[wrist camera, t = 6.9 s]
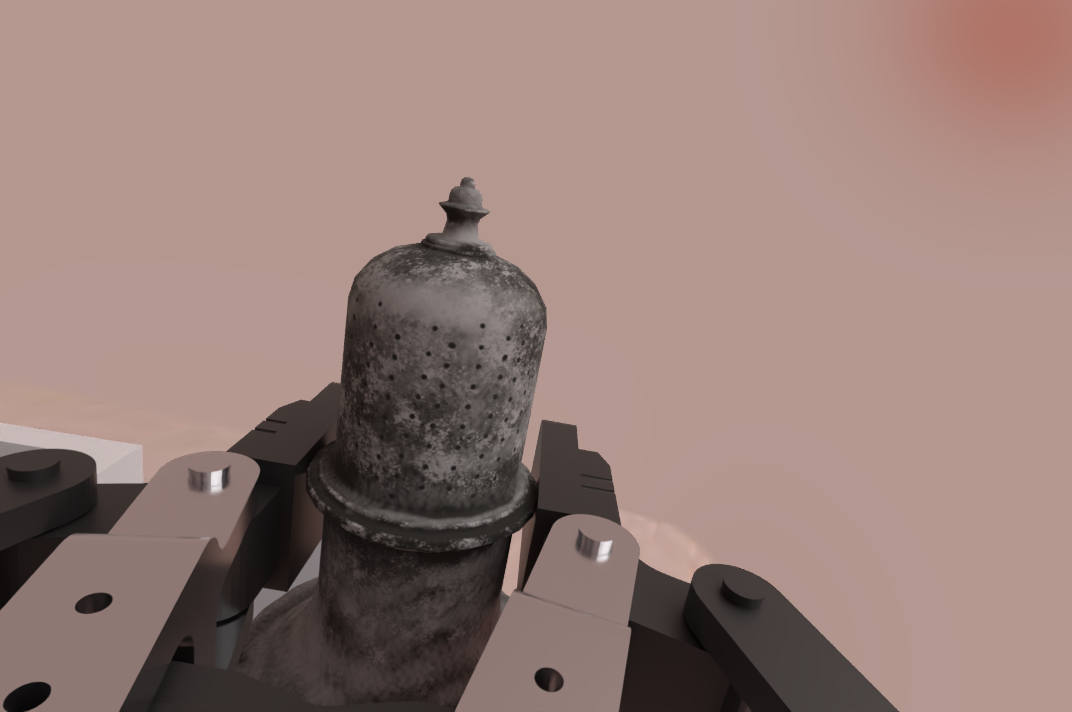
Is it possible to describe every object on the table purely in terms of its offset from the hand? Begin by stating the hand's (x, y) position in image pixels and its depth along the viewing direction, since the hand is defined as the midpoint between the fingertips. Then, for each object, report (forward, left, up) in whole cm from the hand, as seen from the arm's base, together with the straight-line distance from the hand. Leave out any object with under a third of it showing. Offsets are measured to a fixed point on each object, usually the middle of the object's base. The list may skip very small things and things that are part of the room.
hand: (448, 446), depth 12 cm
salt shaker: (0, -3, -7) cm, 7 cm away
